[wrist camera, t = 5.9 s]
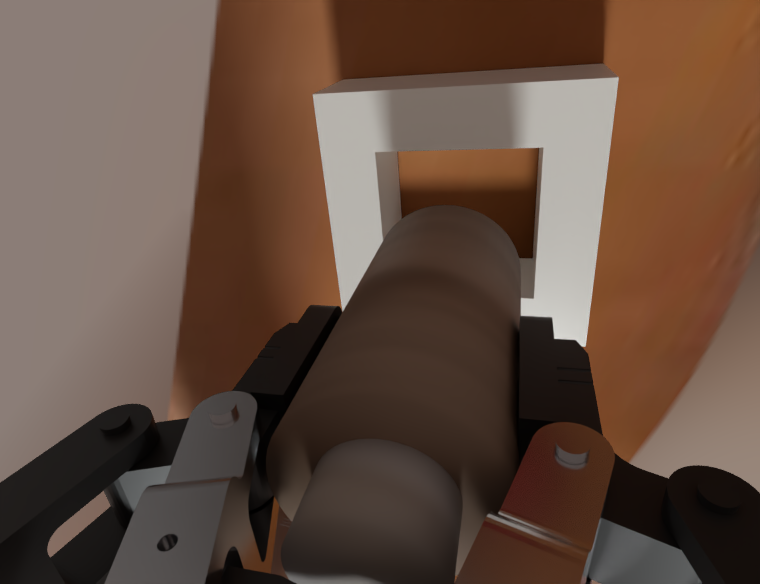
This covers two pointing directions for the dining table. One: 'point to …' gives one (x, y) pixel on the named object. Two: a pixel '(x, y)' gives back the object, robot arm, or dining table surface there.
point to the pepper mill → (406, 410)
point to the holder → (477, 131)
